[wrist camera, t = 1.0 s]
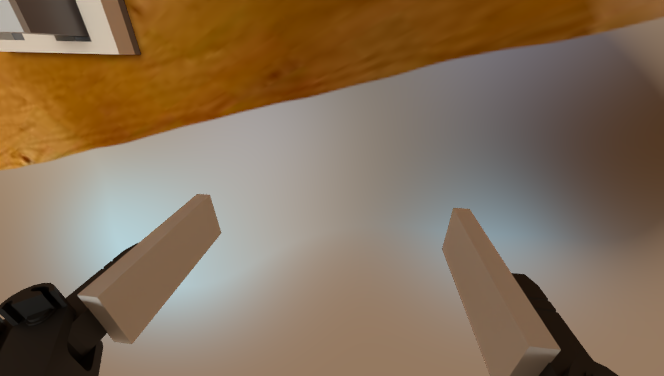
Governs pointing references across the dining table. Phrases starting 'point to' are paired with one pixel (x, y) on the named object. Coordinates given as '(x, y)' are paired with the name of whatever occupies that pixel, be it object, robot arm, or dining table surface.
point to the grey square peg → (42, 17)
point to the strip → (103, 28)
